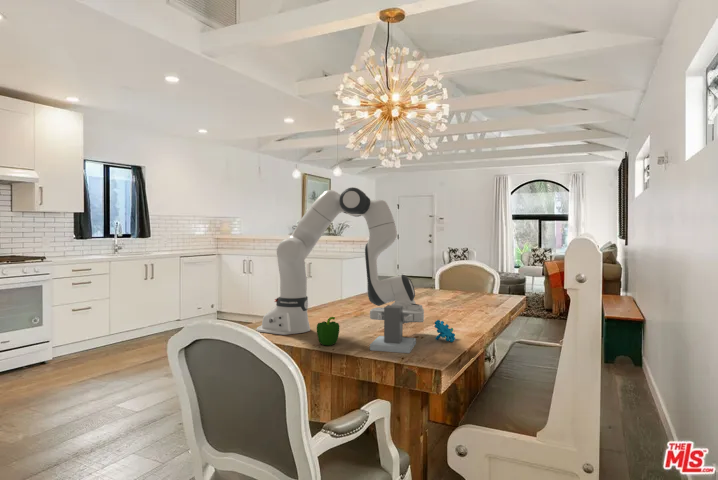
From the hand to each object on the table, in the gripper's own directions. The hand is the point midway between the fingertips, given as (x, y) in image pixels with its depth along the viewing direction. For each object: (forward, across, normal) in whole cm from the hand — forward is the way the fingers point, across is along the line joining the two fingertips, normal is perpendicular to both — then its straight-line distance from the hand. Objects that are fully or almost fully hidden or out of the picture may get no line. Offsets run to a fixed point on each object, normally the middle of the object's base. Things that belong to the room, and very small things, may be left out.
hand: (393, 318), depth 161 cm
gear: (-16, +17, +11) cm, 26 cm away
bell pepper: (+2, -24, +11) cm, 26 cm away
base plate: (-1, 0, +10) cm, 10 cm away
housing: (-1, 0, +8) cm, 8 cm away
